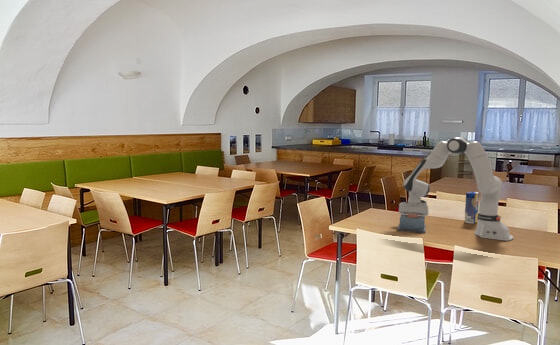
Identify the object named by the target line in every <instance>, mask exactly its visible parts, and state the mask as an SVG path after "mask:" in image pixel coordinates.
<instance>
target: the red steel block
mask: <svg viewBox="0 0 560 345" xmlns="http://www.w3.org/2000/svg"><path fill="white" fill-rule="evenodd" d="M407 215H408V218H417V216H418V215H417V214H414V213H408V214H407Z"/></svg>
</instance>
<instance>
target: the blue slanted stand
mask: <svg viewBox="0 0 560 345" xmlns="http://www.w3.org/2000/svg"><path fill="white" fill-rule="evenodd" d="M396 230H397V231H398V232H408V233H417V234H418V233H419V234H426V230H427V224H425V223H424V219H420V218H408V217H401V216H399V224H398V226H397V229H396Z"/></svg>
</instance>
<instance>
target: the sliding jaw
mask: <svg viewBox="0 0 560 345" xmlns="http://www.w3.org/2000/svg"><path fill="white" fill-rule="evenodd" d="M400 217H408V214H400ZM417 218H420V219H424V224H425V222H426V221H425V218H426V216H422V215H417Z"/></svg>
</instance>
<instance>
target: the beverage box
mask: <svg viewBox="0 0 560 345" xmlns="http://www.w3.org/2000/svg"><path fill="white" fill-rule="evenodd" d="M479 202H480V191H468V192H466V193H465V206H464V207H465V208H464V221H463V222H464V223H466V224H467V223H468V224H476V223H478V220H477V218H478V213H479Z"/></svg>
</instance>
